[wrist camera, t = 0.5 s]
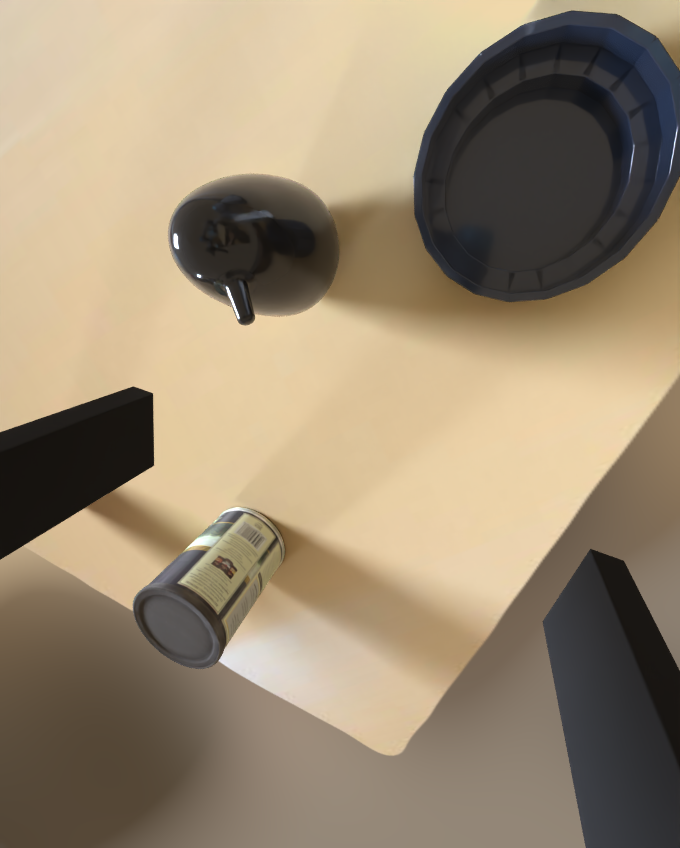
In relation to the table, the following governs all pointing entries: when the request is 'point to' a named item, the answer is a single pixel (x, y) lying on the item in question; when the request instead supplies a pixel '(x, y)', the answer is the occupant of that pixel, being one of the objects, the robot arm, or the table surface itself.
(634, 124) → the bowl
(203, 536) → the coffee can
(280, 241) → the pump dispenser
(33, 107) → the table surface
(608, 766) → the robot arm
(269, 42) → the table surface
